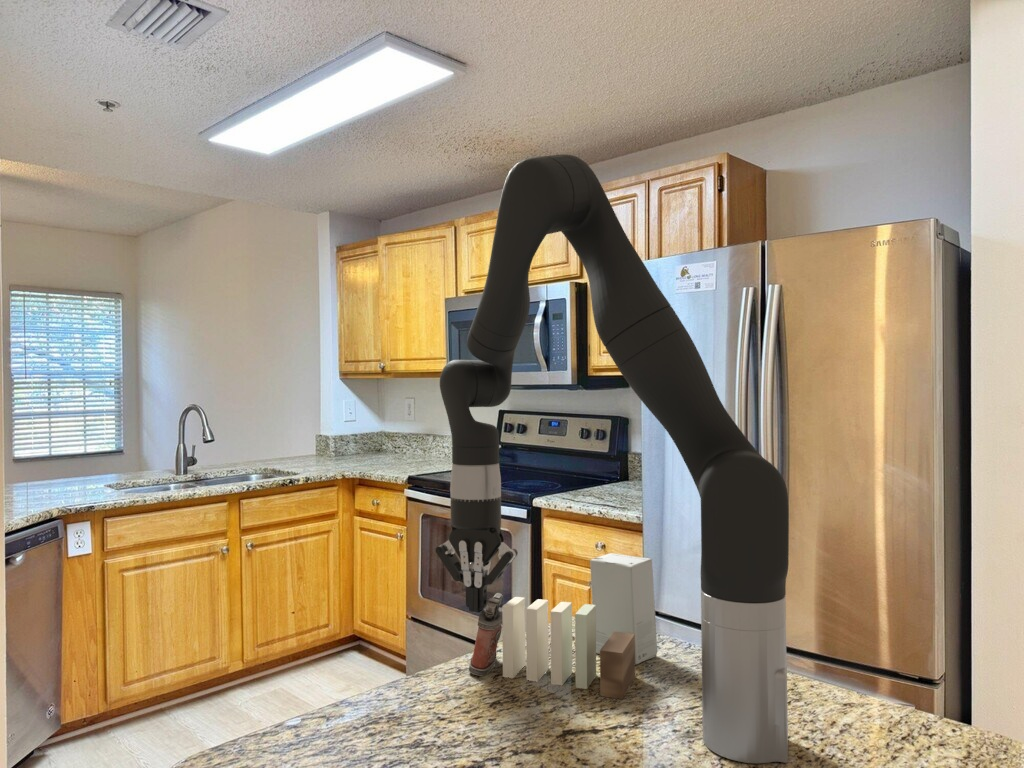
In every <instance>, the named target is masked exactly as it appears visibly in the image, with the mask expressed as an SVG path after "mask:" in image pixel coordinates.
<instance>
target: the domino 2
mask: <svg viewBox="0 0 1024 768" xmlns="http://www.w3.org/2000/svg"><path fill="white" fill-rule="evenodd" d="M525 645H526V666H525V667H526V681H528V680H529V681H530V682H535V681H536V682H539V681H540V679H541V678H542V677H543V676H544V675H545V674H546V673H547V671H549V669H550V666H549V664H550V663H549V662H550V661H549V657H550V655H549V652H550V651H549V645H550V643H549V600H548V599H541V598H540V599H539V598H538V599H536V600H535V601H534V602H532V603H531V604H530V605H529V606H527V607H525ZM545 672H546V673H545ZM544 673H545V674H544ZM536 682H535V683H536Z"/></svg>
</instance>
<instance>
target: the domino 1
mask: <svg viewBox="0 0 1024 768" xmlns="http://www.w3.org/2000/svg"><path fill="white" fill-rule="evenodd" d="M501 608H502V677H504V678H508V677H509V678H508V679H514V678H515V677H516V676H517V675H518V674H519V673H520V672H521V671H522V670H523V669H524V668H525V667H526V597H523V596H514V597H513V598H511V599H510V600H508V601H507V602H506V603H505V604H503V605H502V607H501ZM524 666H525V667H524ZM523 667H524V668H523ZM522 668H523V669H522ZM521 669H522V670H521ZM520 670H521V671H520ZM519 671H520V672H519ZM517 673H518V674H517Z"/></svg>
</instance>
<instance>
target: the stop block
mask: <svg viewBox="0 0 1024 768" xmlns="http://www.w3.org/2000/svg"><path fill="white" fill-rule="evenodd" d="M599 670H600V671H599V677H600V679H599V681H600V683H599V684H600V687H599V688H600V690H599V691H600V697H604V698H605V697H606V698H613V699H619V700H623V699H624V698H625V696H626V694H627V693H628V691H629V689H630V688H631V685H632V683H634V682H633V681H634V680H635V677H636V664H635V634H630V633H622V632H613V634H612V635H611V636H610V638H609V639H608V640H607V642H606V643H605V644H604V646H603V647H602V648H601V650H600V654H599Z"/></svg>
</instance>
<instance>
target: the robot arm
mask: <svg viewBox="0 0 1024 768" xmlns="http://www.w3.org/2000/svg"><path fill="white" fill-rule="evenodd" d="M498 205H499V206H498V211H497V217H496V218H497V219H496V223H495V224H496V225H495V230H494V234H493V241H492V245H491V246H492V247H491V253H490V258H489V265H488V269H487V270H488V271H487V274H486V275H487V276H486V278H485V279H486V280H485V285H484V287H483V292H482V295H481V298H480V301H479V304H478V305H477V309H476V312H475V314H474V316H473V320H472V323H471V325H470V329H469V332H468V334H467V338H466V347H467V349H468V352H469V353H471V355H472V356H473V357H475V358H476V360H475V359H453V360H450V361H449V362H447V363H446V364H445V365H444V367H443V368H442V370H441V373H440V377H439V389H440V394H441V398H442V401H443V404H444V408H445V412H446V416H447V420H448V425H449V429H450V434H451V464H452V465H451V473H450V485H449V486H450V487H449V493H450V525H451V530H450V531H449V533H448V540H446V541H445V542H444V543H442V544H439V545H438V546H436V548H435V554H437V556H438V558H439V559H440V561H441V563H442V564H443V566H444V568H446V571H448V573H449V574H450V576H451V578H452V579H453V580H454V581H455V582H460V583H462V584H463V585H464V587H465V606H466V607H467V608H468V611H469V612H470V613H475V614H476V613H477V614H478V613H479V614H480V613H481V612H482V611H483V610H484V609H485V608H486V605H487V603H488V585H492V584H494V583H495V582H497V581H499V579H500V578H501V577H502V575H504V573H505V571H507V569H508V568H509V567H510V565H511V564H512V563H513V562H514V560H515V558H516V557H517V556H518V550H517V549H516V548H510V546H508V544H506V543H505V538H504V535H503V533H502V529H501V528H502V477H501V470H500V469H501V468H500V435H499V430H498V427H496V426H495V425H493V424H491V423H487V422H482V421H477V420H476V419H475V418H474V417H473V415H472V412H471V410H470V408H494V407H498V406H500V405H501V404H503V403H505V401H506V400H507V399H508V397H509V395H510V393H511V390H512V389H511V388H512V376H513V375H512V374H513V364H514V358H515V351H516V348H517V346H518V343H519V341H520V339H521V336H522V334H523V331H524V329H525V326H526V324H527V321H528V318H529V315H530V305H531V302H530V301H531V297H530V296H531V295H530V287H529V274H530V273H529V272H530V269H531V266H532V265H531V264H532V262H533V260H534V257H535V255H536V253H537V251H538V249H539V247H540V246H541V244H542V242H543V241H544V239H545V238H546V236H547V235H549V234H555V233H560V232H561V233H562V234H563V236H564V237H565V238H566V239H567V241H568V242H569V243H570V246H571V247H572V248H573V250H574V251H575V253H576V255H577V256H578V258H579V259H580V261H581V263H582V265H583V266H584V269H585V272H586V274H587V278H588V285H589V289H590V299H591V307H592V315H593V320H594V325H595V328H596V333H597V334H598V337H599V338H600V341H601V343H602V345H603V347H605V349H606V351H607V353H608V354H609V356H610V357H611V359H612V361H613V362H614V364H615V365H616V367H617V369H618V371H619V372H620V374H621V376H623V378H624V379H625V382H627V383H628V385H629V387H630V388H631V389H632V391H633V392H634V393H635V395H636V396H637V397H638V398H639V399H640V401H641V402H642V403H643V404H644V405H645V407H646V408H647V410H649V412H650V413H651V415H653V416H654V417H655V419H656V420H658V422H659V423H660V424H661V425H662V427H663V428H664V429H665V431H666V432H667V434H668V435H669V437H670V438H671V439H672V441H673V443H674V445H675V446H676V448H677V449H678V452H679V453H680V455H681V458H682V460H683V461H684V463H685V465H686V467H687V469H688V472H689V474H690V476H691V477H692V480H693V482H694V484H695V487H696V490H697V491H698V494H699V497H700V539H701V540H700V542H701V545H700V546H701V549H700V550H701V551H700V552H701V555H700V621H701V623H700V625H701V630H700V632H701V633H700V634H701V636H700V637H701V643H700V644H701V700H702V701H701V704H702V705H701V707H702V711H701V712H702V713H701V716H702V717H701V726H702V741H703V744H704V746H706V747H707V748H708V750H710V751H712V752H713V753H715V754H717V755H719V756H721V757H723V758H726V759H728V760H732V761H735V762H736V761H737V762H740V763H747V764H767V763H773V762H780V763H785V764H786V763H788V762H789V757H788V756H789V725H788V723H789V720H788V719H789V718H788V717H789V713H788V712H789V711H788V706H789V705H788V659H787V623H786V622H787V621H786V620H787V618H786V617H787V616H786V615H787V614H786V607H787V606H786V603H787V602H786V593H787V591H786V590H787V589H786V586H787V585H786V584H787V583H786V582H787V577H788V571H789V555H790V554H789V550H790V549H789V546H790V545H789V541H790V538H789V534H790V533H789V531H790V530H789V529H790V528H789V527H790V523H789V522H790V520H789V519H790V516H789V515H790V514H789V510H790V509H789V494H788V488H787V485H786V481H785V479H784V477H783V476H782V474H781V473H780V471H779V470H778V469H777V468H776V467H775V465H774V464H772V463H771V462H770V461H768V460H767V459H765V458H764V457H763V456H762V455H761V454H760V453H759V451H757V449H756V448H755V447H754V445H752V443H751V442H750V441H749V439H748V437H746V436H745V434H744V433H743V431H742V430H741V428H739V426H738V424H736V422H735V421H734V420H733V418H732V417H731V416H730V414H729V412H728V411H727V409H726V408H725V406H724V404H723V403H722V401H721V399H720V397H719V395H718V394H717V391H716V389H715V386H714V383H713V382H712V379H711V377H710V374H709V372H708V369H707V367H706V365H705V363H704V360H703V359H702V357H701V355H700V352H699V351H698V349H697V347H696V345H695V343H694V341H693V339H692V336H691V335H690V333H689V332H688V330H687V328H685V326H684V324H683V322H682V320H681V319H680V318H679V316H678V314H677V313H676V311H675V310H674V309H673V307H672V305H671V303H670V302H669V301H668V299H667V298H666V296H665V295H664V293H663V292H662V290H661V289H660V288H659V286H658V285H657V283H656V281H655V280H654V278H653V276H652V275H651V273H650V271H649V270H648V268H647V266H646V265H645V263H644V262H643V260H642V258H641V257H640V255H639V253H638V252H637V251H636V249H635V247H634V246H633V244H632V243H631V241H630V239H629V238H628V235H627V234H626V233H625V230H624V228H623V226H622V224H621V223H620V221H619V218H618V216H617V213H616V212H615V210H614V208H613V206H612V204H611V202H610V200H609V198H608V196H607V194H606V192H605V190H604V188H603V186H602V183H601V182H600V180H599V179H598V177H597V175H596V173H595V172H594V170H593V169H592V168H591V167H590V166H589V165H588V163H587V162H586V161H585V160H582V159H581V158H580V157H579V156H578V157H577V156H575V155H572V154H565V153H564V154H553V155H545V156H544V155H543V156H540V155H539V156H533V157H528V158H525V159H522V160H520V161H519V162H517V163H516V164H514V165H513V167H511V168H510V170H509V172H508V174H507V176H506V178H505V181H504V185H503V187H502V192H501V195H500V200H499V204H498ZM497 553H498V554H497ZM456 554H457V555H456ZM496 554H497V558H498V561H497V562H496V564H495V565H494V567H493V568H492V569H491V571H490V568H491V565H492V564H491V562H492V560H493V559H494V558H495V556H496ZM457 556H458V557H457ZM459 559H460V560H459Z"/></svg>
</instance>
